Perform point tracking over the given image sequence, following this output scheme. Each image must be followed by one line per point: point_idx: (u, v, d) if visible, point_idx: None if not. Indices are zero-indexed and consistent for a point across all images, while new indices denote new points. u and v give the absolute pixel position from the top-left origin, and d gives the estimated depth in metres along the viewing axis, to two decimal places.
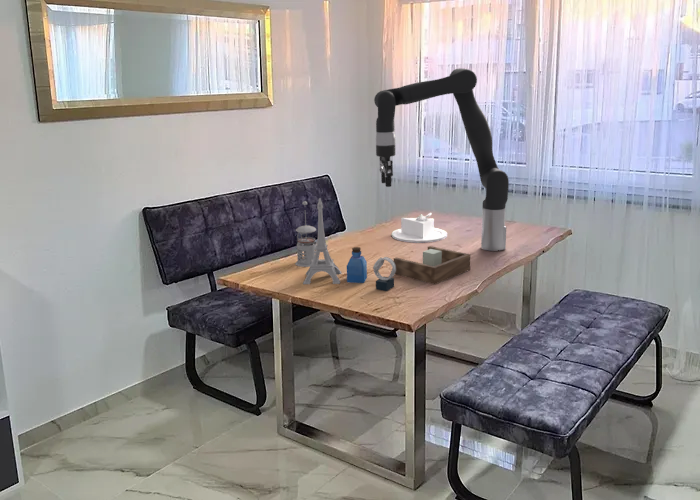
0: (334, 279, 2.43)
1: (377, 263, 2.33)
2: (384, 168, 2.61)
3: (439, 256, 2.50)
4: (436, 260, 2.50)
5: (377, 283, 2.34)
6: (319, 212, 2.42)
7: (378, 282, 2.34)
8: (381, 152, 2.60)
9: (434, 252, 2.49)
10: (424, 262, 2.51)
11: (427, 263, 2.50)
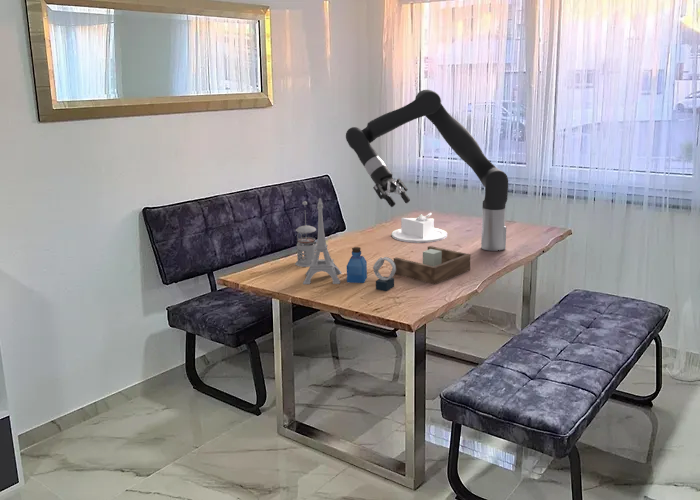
0: (334, 279, 2.43)
1: (377, 263, 2.33)
2: None
3: (439, 256, 2.50)
4: (436, 260, 2.50)
5: (377, 283, 2.34)
6: (319, 212, 2.42)
7: (378, 282, 2.34)
8: (374, 181, 2.60)
9: (434, 252, 2.49)
10: (424, 262, 2.51)
11: (427, 263, 2.50)
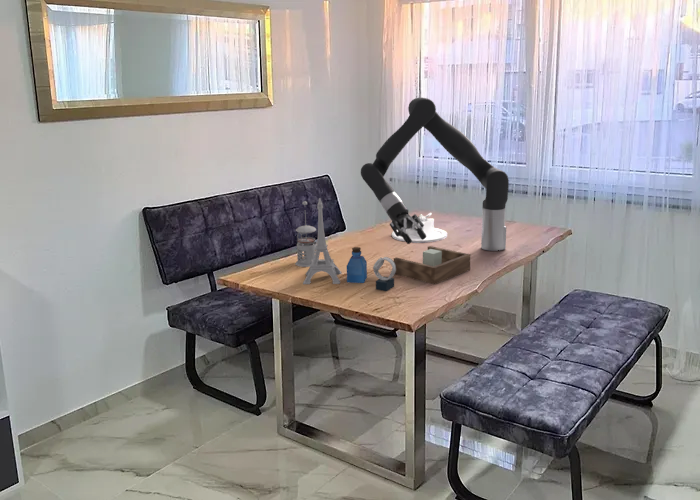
0: (334, 279, 2.43)
1: (377, 263, 2.33)
2: (399, 229, 2.55)
3: (439, 256, 2.50)
4: (436, 260, 2.50)
5: (377, 283, 2.34)
6: (319, 212, 2.42)
7: (378, 282, 2.34)
8: (390, 217, 2.58)
9: (434, 252, 2.49)
10: (424, 262, 2.51)
11: (427, 263, 2.50)
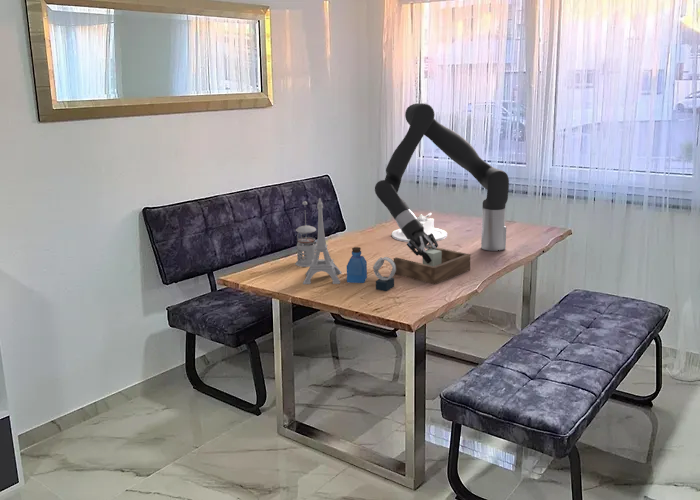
0: (334, 279, 2.43)
1: (377, 263, 2.33)
2: None
3: (439, 256, 2.50)
4: (436, 260, 2.50)
5: (377, 283, 2.34)
6: (319, 212, 2.42)
7: (378, 282, 2.34)
8: (405, 235, 2.54)
9: (434, 252, 2.49)
10: (424, 262, 2.51)
11: (427, 263, 2.50)
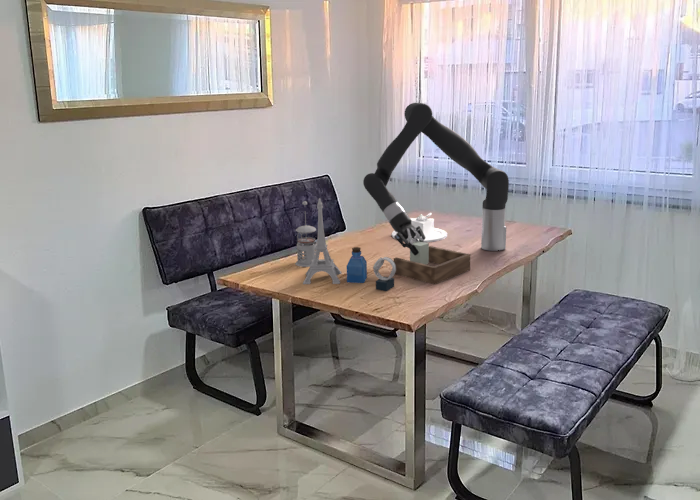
0: (334, 279, 2.43)
1: (377, 263, 2.33)
2: None
3: (426, 248, 2.54)
4: (423, 252, 2.53)
5: (377, 283, 2.34)
6: (319, 212, 2.42)
7: (378, 282, 2.34)
8: (392, 227, 2.58)
9: (421, 244, 2.53)
10: (411, 254, 2.55)
11: (415, 255, 2.54)
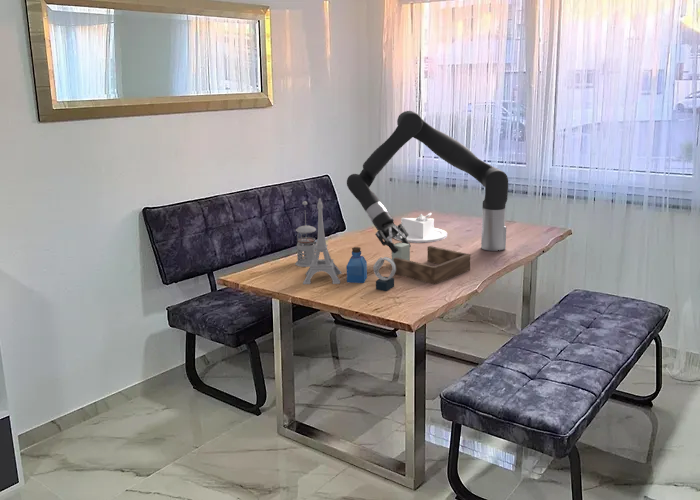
0: (334, 279, 2.43)
1: (377, 263, 2.33)
2: None
3: (407, 249, 2.60)
4: (404, 253, 2.60)
5: (377, 283, 2.34)
6: (319, 212, 2.42)
7: (378, 282, 2.34)
8: None
9: (402, 245, 2.59)
10: (393, 255, 2.61)
11: (396, 256, 2.60)
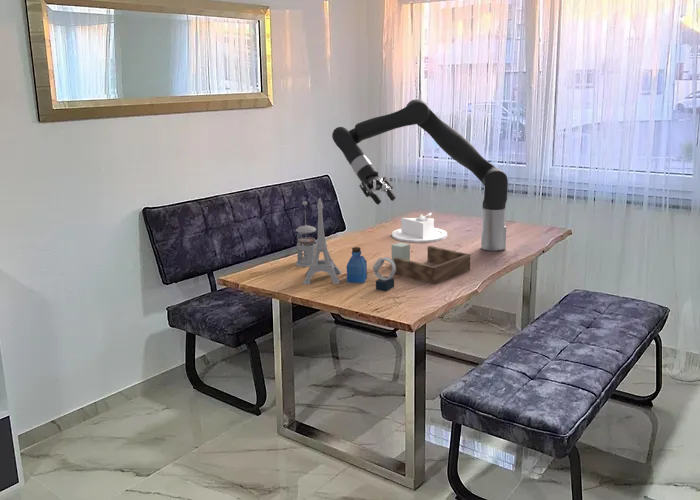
0: (334, 279, 2.43)
1: (377, 263, 2.33)
2: None
3: (407, 249, 2.60)
4: (404, 253, 2.60)
5: (377, 283, 2.34)
6: (319, 212, 2.42)
7: (378, 282, 2.34)
8: (360, 179, 2.65)
9: (402, 245, 2.59)
10: (393, 255, 2.61)
11: (396, 256, 2.60)
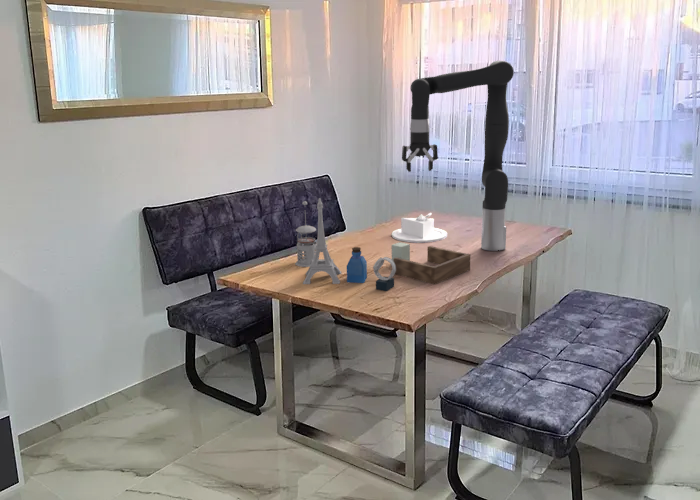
0: (334, 279, 2.43)
1: (377, 263, 2.33)
2: (410, 153, 2.72)
3: (407, 249, 2.60)
4: (404, 253, 2.60)
5: (377, 283, 2.34)
6: (319, 212, 2.42)
7: (378, 282, 2.34)
8: None
9: (402, 245, 2.59)
10: (393, 255, 2.61)
11: (396, 255, 2.60)
